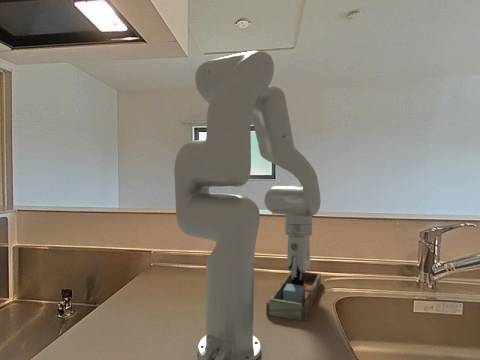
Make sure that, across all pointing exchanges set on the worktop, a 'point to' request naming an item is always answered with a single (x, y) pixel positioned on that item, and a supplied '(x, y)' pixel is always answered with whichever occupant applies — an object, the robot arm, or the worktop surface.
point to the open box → (293, 308)
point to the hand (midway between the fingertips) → (297, 292)
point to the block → (294, 293)
